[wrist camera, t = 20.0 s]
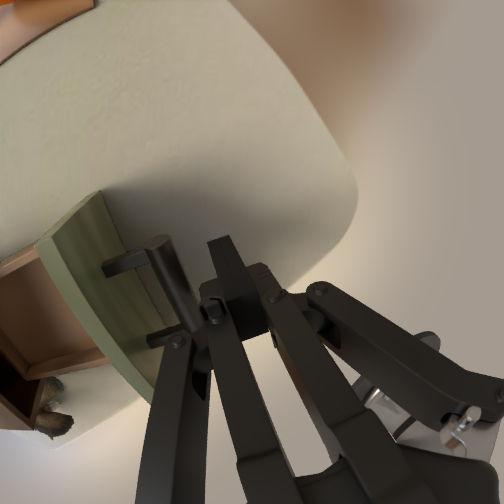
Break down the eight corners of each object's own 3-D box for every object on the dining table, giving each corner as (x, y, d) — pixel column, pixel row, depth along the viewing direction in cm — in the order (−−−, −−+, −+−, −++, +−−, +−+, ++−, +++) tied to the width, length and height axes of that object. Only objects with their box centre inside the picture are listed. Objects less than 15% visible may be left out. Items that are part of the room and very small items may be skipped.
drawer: (155, 166, 17) (139, 196, 9) (214, 317, 23) (235, 395, 16) (-30, 266, 14) (-75, 318, 7) (40, 367, 21) (23, 428, 13)
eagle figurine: (70, 426, 25) (89, 417, 22) (39, 450, 18) (51, 448, 15) (37, 382, 25) (50, 363, 23) (4, 402, 18) (7, 387, 16)
